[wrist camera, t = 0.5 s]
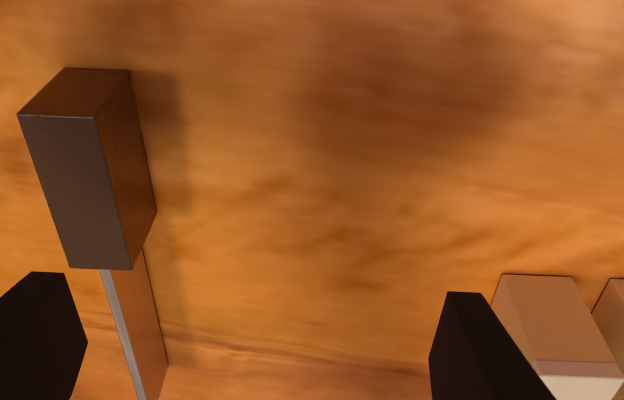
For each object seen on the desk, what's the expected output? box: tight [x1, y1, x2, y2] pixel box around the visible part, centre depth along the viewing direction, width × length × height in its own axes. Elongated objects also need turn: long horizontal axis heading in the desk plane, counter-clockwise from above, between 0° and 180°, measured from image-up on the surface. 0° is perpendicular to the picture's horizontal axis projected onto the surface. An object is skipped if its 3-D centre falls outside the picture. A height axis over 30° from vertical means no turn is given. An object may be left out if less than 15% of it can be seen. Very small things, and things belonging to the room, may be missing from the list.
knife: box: [17, 68, 168, 400], centre depth 20 cm, size 16×2×3 cm, turn 178°
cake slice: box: [491, 274, 624, 400], centre depth 23 cm, size 10×3×5 cm, turn 178°
